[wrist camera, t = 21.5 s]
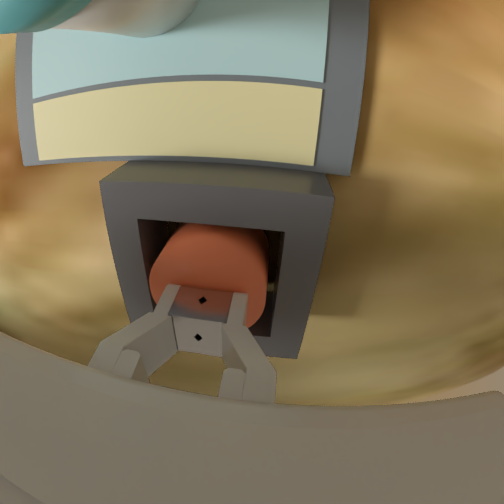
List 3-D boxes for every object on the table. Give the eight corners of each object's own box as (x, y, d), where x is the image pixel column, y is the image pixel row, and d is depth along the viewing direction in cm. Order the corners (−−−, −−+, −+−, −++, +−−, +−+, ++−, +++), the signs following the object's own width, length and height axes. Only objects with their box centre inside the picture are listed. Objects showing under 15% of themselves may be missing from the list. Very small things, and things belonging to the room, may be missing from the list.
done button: (265, 294, 14) (260, 341, 12) (177, 283, 15) (157, 327, 12) (274, 210, 12) (271, 251, 10) (169, 202, 12) (141, 238, 10)
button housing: (296, 314, 16) (297, 358, 13) (153, 297, 16) (134, 336, 14) (323, 169, 11) (334, 197, 9) (134, 157, 12) (99, 181, 9)
